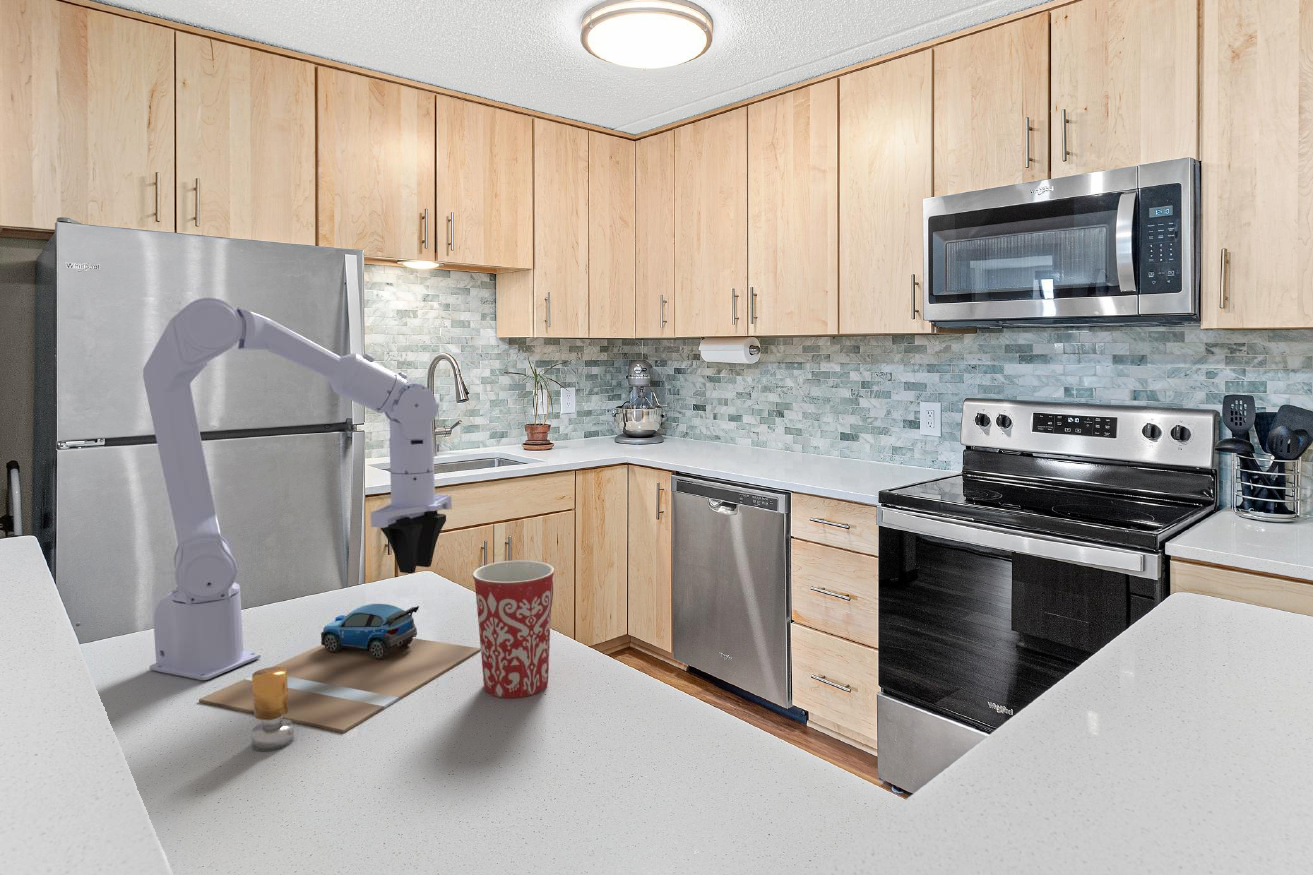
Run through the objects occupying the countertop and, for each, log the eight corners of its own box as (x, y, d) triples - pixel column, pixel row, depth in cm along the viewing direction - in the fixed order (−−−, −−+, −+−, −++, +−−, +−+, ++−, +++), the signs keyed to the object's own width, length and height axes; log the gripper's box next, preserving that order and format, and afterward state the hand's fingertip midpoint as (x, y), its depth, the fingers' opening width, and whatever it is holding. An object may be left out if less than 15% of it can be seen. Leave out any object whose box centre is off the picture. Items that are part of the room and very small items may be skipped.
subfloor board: (199, 701, 86) (198, 699, 86) (356, 631, 108) (356, 629, 108) (343, 732, 79) (343, 729, 79) (480, 650, 101) (480, 648, 101)
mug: (530, 708, 84) (527, 584, 83) (459, 695, 88) (456, 576, 86) (584, 665, 96) (583, 557, 95) (519, 655, 99) (517, 550, 98)
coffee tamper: (244, 747, 76) (239, 677, 75) (274, 731, 79) (270, 663, 78) (272, 754, 74) (268, 682, 74) (302, 737, 78) (298, 668, 77)
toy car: (346, 636, 105) (344, 594, 105) (423, 646, 102) (421, 603, 101) (314, 651, 100) (312, 607, 99) (394, 662, 96) (392, 617, 95)
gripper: (401, 480, 99) (404, 586, 100) (468, 466, 112) (470, 559, 114) (356, 477, 102) (360, 580, 103) (427, 463, 115) (430, 555, 116)
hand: (415, 569), depth 108 cm, fingers open, 3 cm apart
